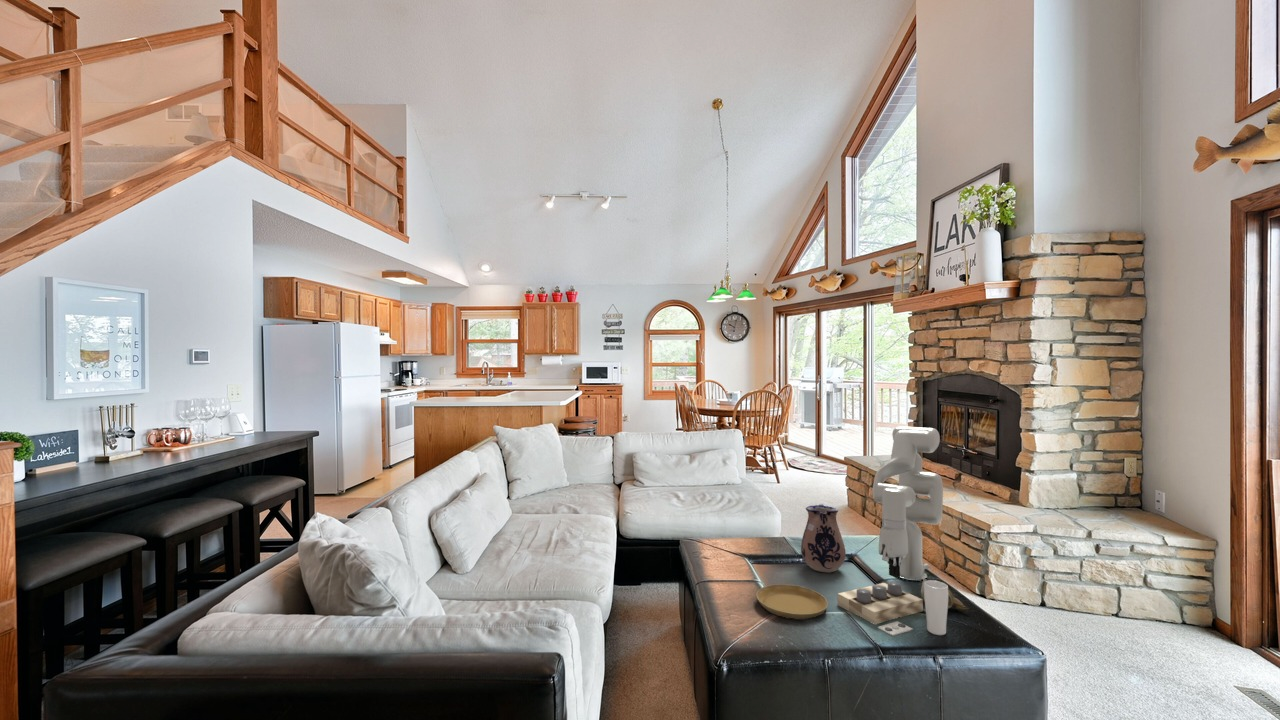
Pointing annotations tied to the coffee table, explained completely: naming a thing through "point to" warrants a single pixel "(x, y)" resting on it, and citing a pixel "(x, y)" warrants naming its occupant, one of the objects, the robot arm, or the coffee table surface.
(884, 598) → the middle button
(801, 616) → the plant saucer
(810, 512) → the ceramic pitcher
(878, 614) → the button board
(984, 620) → the coffee table surface
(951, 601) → the ceramic sculpture
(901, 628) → the pattern card
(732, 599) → the coffee table surface
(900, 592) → the button
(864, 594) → the button
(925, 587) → the drinking glass
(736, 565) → the coffee table surface
